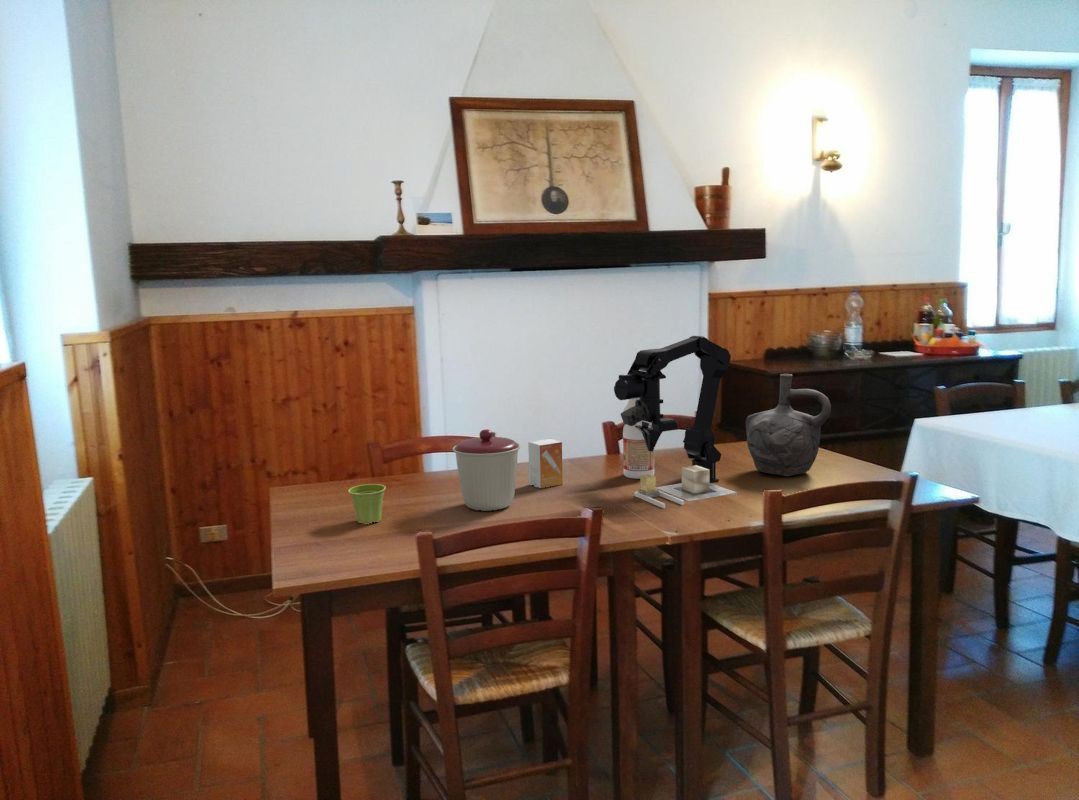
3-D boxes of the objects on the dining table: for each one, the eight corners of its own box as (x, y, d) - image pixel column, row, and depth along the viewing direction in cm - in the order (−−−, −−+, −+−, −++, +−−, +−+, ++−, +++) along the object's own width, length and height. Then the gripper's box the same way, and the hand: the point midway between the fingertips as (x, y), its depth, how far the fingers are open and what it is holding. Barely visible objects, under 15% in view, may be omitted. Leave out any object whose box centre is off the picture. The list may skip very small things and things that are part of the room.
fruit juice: (637, 481, 244) (636, 387, 240) (617, 475, 252) (615, 384, 248) (661, 475, 250) (660, 384, 245) (640, 470, 257) (639, 381, 253)
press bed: (701, 483, 239) (701, 479, 239) (736, 496, 224) (737, 492, 224) (654, 491, 232) (654, 487, 232) (688, 505, 218) (688, 500, 218)
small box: (540, 489, 238) (539, 445, 236) (528, 484, 244) (527, 441, 241) (563, 484, 243) (562, 441, 241) (551, 480, 248) (550, 438, 246)
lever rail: (654, 496, 227) (654, 488, 227) (684, 508, 215) (684, 500, 214) (634, 499, 225) (634, 491, 224) (663, 512, 212) (663, 504, 212)
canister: (517, 494, 233) (514, 421, 230) (527, 512, 215) (524, 433, 212) (453, 499, 230) (449, 425, 227) (458, 518, 212) (454, 438, 209)
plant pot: (380, 527, 207) (377, 493, 205) (344, 526, 208) (342, 493, 207) (392, 516, 216) (391, 484, 214) (358, 515, 217) (356, 483, 216)
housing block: (696, 485, 232) (696, 465, 231) (709, 490, 226) (709, 469, 225) (681, 488, 230) (681, 467, 229) (694, 493, 224) (694, 471, 223)
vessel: (828, 466, 255) (830, 370, 250) (829, 484, 234) (832, 379, 230) (747, 463, 262) (748, 369, 258) (742, 480, 242) (743, 378, 237)
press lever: (651, 492, 227) (650, 473, 226) (659, 496, 223) (659, 476, 222) (637, 495, 225) (637, 475, 224) (645, 498, 221) (645, 478, 221)
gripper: (607, 394, 232) (608, 448, 235) (643, 403, 216) (645, 461, 218) (640, 390, 237) (641, 443, 240) (678, 399, 221) (679, 455, 223)
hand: (650, 451), depth 230 cm, fingers closed
